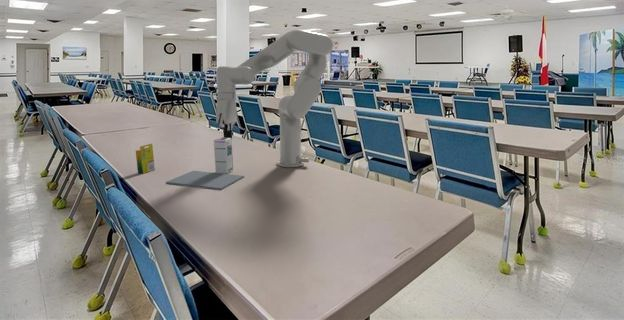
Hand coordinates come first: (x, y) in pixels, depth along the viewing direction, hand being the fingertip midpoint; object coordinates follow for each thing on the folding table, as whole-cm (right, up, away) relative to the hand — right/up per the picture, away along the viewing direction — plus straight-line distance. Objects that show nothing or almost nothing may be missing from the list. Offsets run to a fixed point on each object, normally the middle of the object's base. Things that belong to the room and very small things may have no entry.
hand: (227, 139), depth 172 cm
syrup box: (-1, -14, -1) cm, 14 cm away
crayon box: (-34, -14, -2) cm, 37 cm away
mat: (-6, -17, -14) cm, 23 cm away
